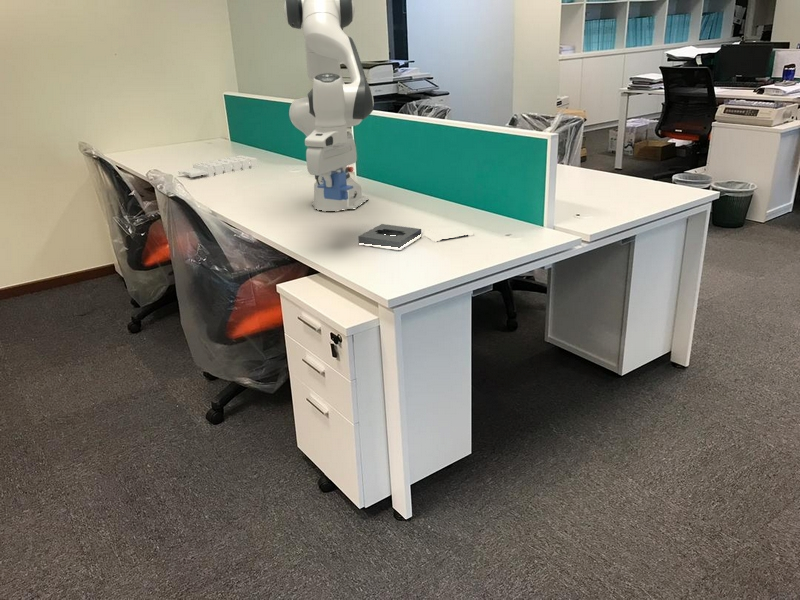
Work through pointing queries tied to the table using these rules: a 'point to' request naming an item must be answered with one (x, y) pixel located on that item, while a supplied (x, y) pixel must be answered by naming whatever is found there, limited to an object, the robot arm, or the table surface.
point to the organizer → (221, 166)
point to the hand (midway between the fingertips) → (335, 184)
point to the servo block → (336, 186)
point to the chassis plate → (378, 237)
